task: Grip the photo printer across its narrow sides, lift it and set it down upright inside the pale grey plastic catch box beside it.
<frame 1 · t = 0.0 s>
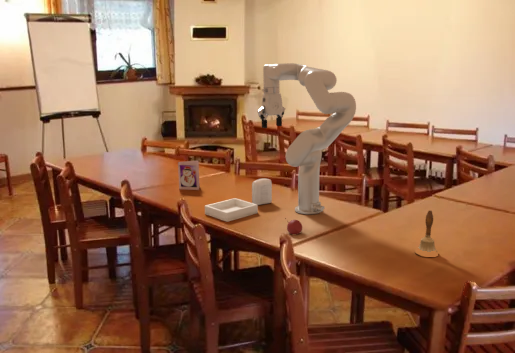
hand: (271, 126, 244), 37 cm above the table, tool pointing down, fingers open, 9 cm apart
fruit: (292, 232, 207), on the table
hand bell: (426, 254, 182), on the table
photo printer: (262, 204, 248), on the table
greeting card: (191, 188, 280), on the table
catch box: (231, 213, 233), on the table
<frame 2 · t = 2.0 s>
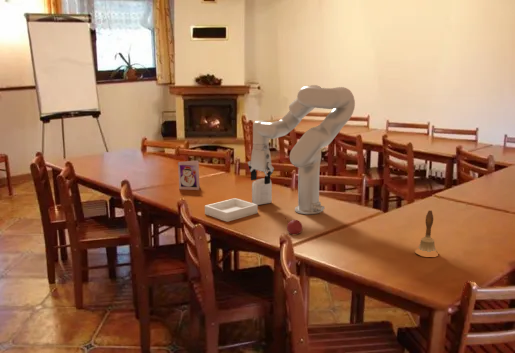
hand: (260, 181, 246), 11 cm above the table, tool pointing down, fingers open, 9 cm apart
nothing on the table moved.
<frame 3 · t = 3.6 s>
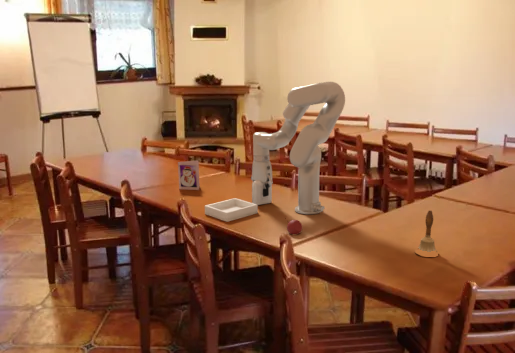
hand: (261, 194, 247), 4 cm above the table, tool pointing down, fingers closed on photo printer, 4 cm apart
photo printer: (262, 203, 248), on the table, touching gripper
everything else where it was.
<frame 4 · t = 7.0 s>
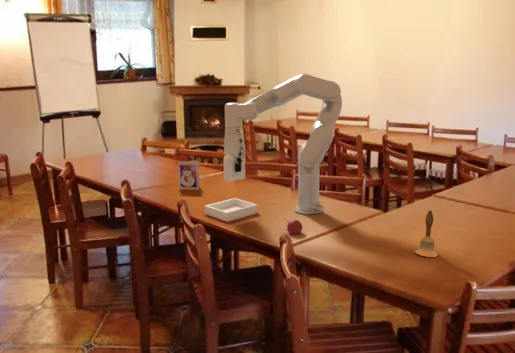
hand: (234, 170, 230), 20 cm above the table, tool pointing down, fingers closed on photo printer, 4 cm apart
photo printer: (234, 180, 232), point 15 cm above the table, touching gripper
everything else where it was.
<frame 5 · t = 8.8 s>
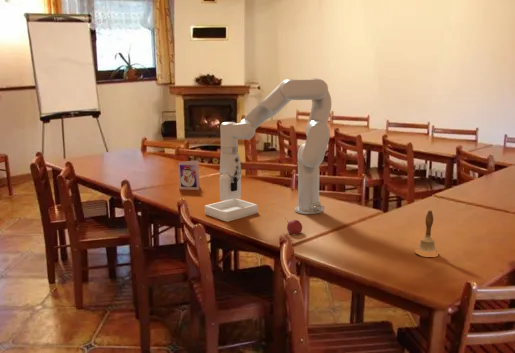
hand: (230, 189, 230), 11 cm above the table, tool pointing down, fingers closed on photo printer, 4 cm apart
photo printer: (230, 199, 231), point 7 cm above the table, touching gripper
everything else where it was.
when the fingers open (7 cm above the table, at t = 10.4 s): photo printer drops 1 cm, resting on catch box.
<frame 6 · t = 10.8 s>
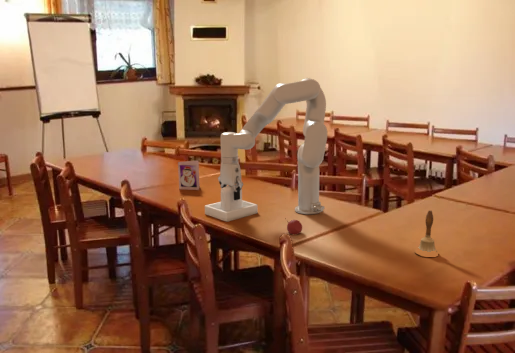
hand: (230, 197, 231), 8 cm above the table, tool pointing down, fingers open, 8 cm apart
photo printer: (231, 211, 232), point 1 cm above the table, touching catch box
everything else where it was.
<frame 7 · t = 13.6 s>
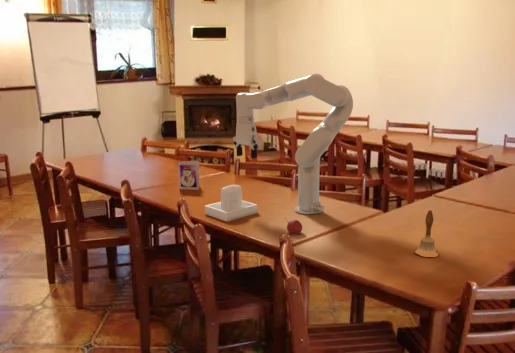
hand: (246, 156, 236), 24 cm above the table, tool pointing down, fingers open, 9 cm apart
nothing on the table moved.
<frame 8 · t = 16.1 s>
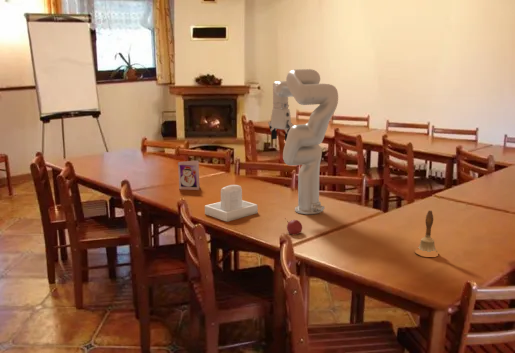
hand: (280, 140, 258), 28 cm above the table, tool pointing down, fingers open, 9 cm apart
nothing on the table moved.
at the end: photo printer inside the target area on the catch box (0.3 cm from its centre), point 0.8 cm above the catch box's base; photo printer tilted 0°; the gripper is holding nothing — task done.
